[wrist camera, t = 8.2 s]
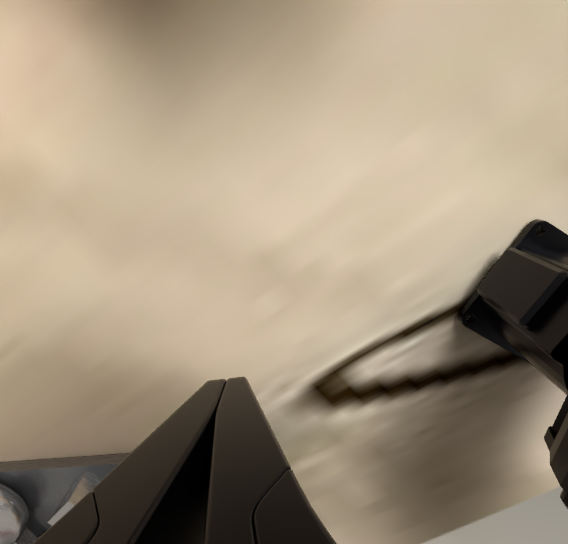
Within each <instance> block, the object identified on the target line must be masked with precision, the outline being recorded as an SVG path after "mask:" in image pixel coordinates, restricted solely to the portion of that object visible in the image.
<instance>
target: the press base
mask: <svg viewBox="0 0 568 544" xmlns="http://www.w3.org/2000/svg"><path fill="white" fill-rule="evenodd" d="M129 454H130V453H126V454H111V455H97V456H83V457H69V458H54V459H40V460H26V461H12V462H0V484H3V485H5V486H7V487H9V488H10V489H12V490H13V491H15V492H16V493H17V494H18V495H19V496H20V497H21V498H22V499H23V501H24V502H25V504H26V506H27V508H28V512H29V519H28V522H27V524H26V526H25V528H27V529H29V530H30V531H31V532H32V533H33V534H34V535H35V536H36V537H37V538H39V537H40V536H41V535H43V534H44V533H45V532H46V531H47V530H48V529H49V528H50V527H51V526H53V525H54V524H55V523H56V522H57V521H58V520H59V519H60V518H61V517H63V516H64V515H65V514H66V513H67V512H68V511H69V510H70V509H71V508H73V507H74V506H75V505H76V504H77V503H78V502H79V501H80V500H81V499H82V498H83V497H84V496H85V495H86V494H88V493H89V492H93V488H94V487H95V486H96V485H97V484H98V483H99V482H101V481H102V480H103V479H104V478H105V477H106V476H107V475H108V474H109V473H110V472H111V471H112V470H113V469H114V468H115V467H117V466H118V465H119V464H120V463H121V462H122V461H123V460H124V459H125V458H126V457H127V456H128V455H129Z"/></svg>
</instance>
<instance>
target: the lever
mask: <svg viewBox="0 0 568 544" xmlns="http://www.w3.org/2000/svg"><path fill="white" fill-rule="evenodd" d="M28 519H29V512H28V508H27V506H26V504H25V502H24V501H23V499H22V498H21V497H20V496H19V495H18V494H17V493H16V492H15V491H13V490H12V489H10V488H9V487H7V486H5V485H3V484H0V544H32V543H33V542H34V541H35V540H37V539H38V538H37V537H36V536H35V535H34V534H33V533H32V532H31V531H30V530H29V529H27V528H25V526H26V524H27V522H28Z"/></svg>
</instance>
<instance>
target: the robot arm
mask: <svg viewBox="0 0 568 544" xmlns="http://www.w3.org/2000/svg"><path fill="white" fill-rule="evenodd" d="M539 226H541V231H540V232H539V233H538V234H536V229H537V228H538V227H539ZM471 314H472V317H471V318H470V319H469V320H466V317H467V316H468V315H471ZM458 319H459V321H460V322H461V323H462V324H463V325H464V326H466V327H467V328H469V329H471V330H473V331H474V332H476V333H478V334H480V335H481V336H483V337H485V338H487V339H489V340H490V341H492V342H494V343H496V344H497V345H499V346H501V347H503V348H504V349H506V350H508V351H510V352H511V353H513V354H515V355H517V356H518V357H520V358H522V359H524V360H526V361H527V362H529V363H531V364H532V365H534V366H535V367H536V368H537V369H538V370H539V371H540V372H541V373H543V374H544V375H545V376H546V377H547V378H548V379H549V380H550V381H552V382H553V383H554V384H555V385H556V386H557V387H558V388H559V389H561V390H562V391H563V392H564V393H565V394H566V395H567V397H566V399H565V401H564V403H563V405H562V407H561V409H560V411H559V414H558V416H557V418H556V420H555V422H554V424H553V426H550V427H549V428H548V430H547V432H546V434H545V436H544V439H545V442H546V444H547V446H548V449H549V451H550V466H551V468H552V470H553V472H554V474H555V476H556V478H557V480H558V482H559V484H560V486H561V487H562V488H563V491H562V492H561V495H560V498H561V499H562V501H563V503H564V504H565V506H566V507H567V509H568V235H567V234H565V233H564V232H562V231H561V230H559V229H558V228H556V227H555V226H553V225H552V224H550V223H548V222H546V221H543V220H540V219H538V220H534V221H531V222H530V223H529V224H528V225H527V227H526V228H525V229H524V230H523V232H522V233H521V234H520V236H519V237H518V238H517V239H516V241H515V242H514V243H513V245H512V246H511V247H510V248H509V249H507V250H506V251H505V252H504V254H503V255H502V256H501V257H500V259H499V260H498V261H497V263H496V264H495V265H494V266H493V268H492V269H491V270H490V272H489V273H488V274H487V275H486V277H485V278H484V279H483V280H482V282H481V283H480V284H479V286H478V287H477V290H476V292H475V293H474V294H473V296H472V297H471V298H470V299H469V301H468V302H467V303H466V304H465V306H464V307H463V308H462V310H461V311H460V312H459V314H458ZM32 544H336V542H335V541H334V539H333V538H332V537H331V535H330V534H329V532H328V531H327V530H326V528H325V527H324V525H323V523H322V522H321V520H320V519H319V517H318V516H317V514H316V513H315V511H314V510H313V508H312V507H311V505H310V503H309V501H308V500H307V498H306V496H305V494H304V492H303V490H302V489H301V487H300V485H299V483H298V481H297V479H296V477H295V475H294V473H293V471H292V470H291V468H290V465H289V463H288V461H287V459H286V457H285V455H284V453H283V451H282V449H281V447H280V445H279V443H278V441H277V439H276V437H275V435H274V433H273V431H272V429H271V427H270V425H269V423H268V421H267V419H266V417H265V415H264V413H263V411H262V409H261V407H260V405H259V403H258V401H257V399H256V397H255V395H254V393H253V391H252V389H251V387H250V385H249V383H248V381H247V379H246V378H245V377H237V378H230V379H228V380H227V381H226V380H225V379H220V380H211V381H208V382H206V383H205V384H204V385H203V386H202V387H201V388H200V389H199V390H198V391H197V392H196V393H195V394H194V395H192V396H191V397H190V398H189V399H188V400H187V401H186V402H185V403H184V404H183V405H182V406H181V407H180V408H179V409H177V410H176V411H175V412H174V413H173V414H172V415H171V416H170V417H169V418H168V419H167V420H166V421H165V422H164V423H163V424H161V425H160V426H159V427H158V428H157V429H156V430H155V431H154V432H153V433H152V434H151V435H150V436H149V437H148V438H146V439H145V440H144V441H143V442H142V443H141V444H140V445H139V446H138V447H137V448H136V449H135V450H134V451H133V452H132V453H130V454H129V455H128V456H127V457H126V458H125V459H124V460H123V461H122V462H121V463H120V464H119V465H118V466H117V467H115V468H114V469H113V470H112V471H111V472H110V473H109V474H108V475H107V476H106V477H105V478H104V479H103V480H102V481H101V482H99V483H98V484H97V485H96V486H95V487H94V488H93V492H89V493H88V494H86V495H85V496H84V497H83V498H82V499H81V500H80V501H79V502H78V503H77V504H76V505H75V506H74V507H73V508H71V509H70V510H69V511H68V512H67V513H66V514H65V515H64V516H63V517H61V518H60V519H59V520H58V521H57V522H56V523H55V524H54V525H53V526H51V527H50V528H49V529H48V530H47V531H46V532H45V533H44V534H43V535H41V536H40V537H39V538H38V539H37V540H35V541H34V542H33V543H32Z"/></svg>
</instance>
